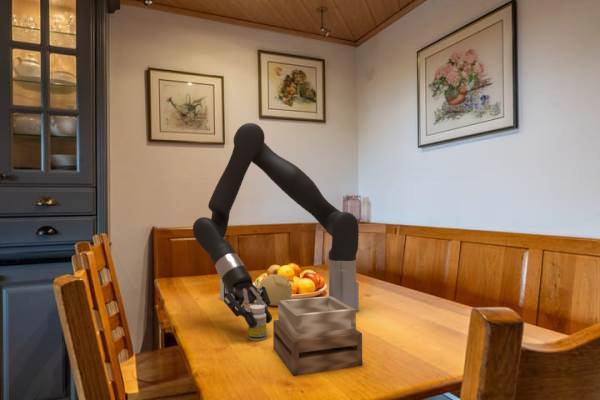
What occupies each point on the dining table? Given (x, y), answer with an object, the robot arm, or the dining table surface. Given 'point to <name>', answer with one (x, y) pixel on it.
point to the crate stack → (316, 335)
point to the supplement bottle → (258, 323)
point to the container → (223, 291)
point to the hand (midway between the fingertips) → (262, 323)
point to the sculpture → (277, 288)
